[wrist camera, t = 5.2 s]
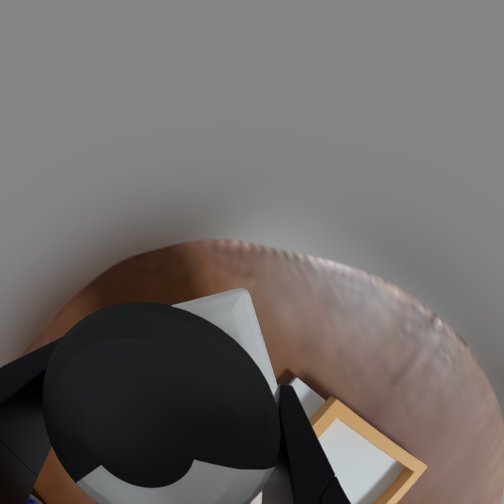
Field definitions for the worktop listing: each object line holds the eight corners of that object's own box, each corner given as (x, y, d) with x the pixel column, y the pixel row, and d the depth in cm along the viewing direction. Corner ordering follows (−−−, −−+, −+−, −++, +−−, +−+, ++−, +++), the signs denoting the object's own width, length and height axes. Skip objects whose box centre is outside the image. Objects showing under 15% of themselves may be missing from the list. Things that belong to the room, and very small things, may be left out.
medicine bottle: (132, 336, 17) (-7, 305, 5) (243, 309, 18) (256, 232, 6) (164, 444, 14) (73, 548, 3) (276, 419, 15) (344, 522, 4)
